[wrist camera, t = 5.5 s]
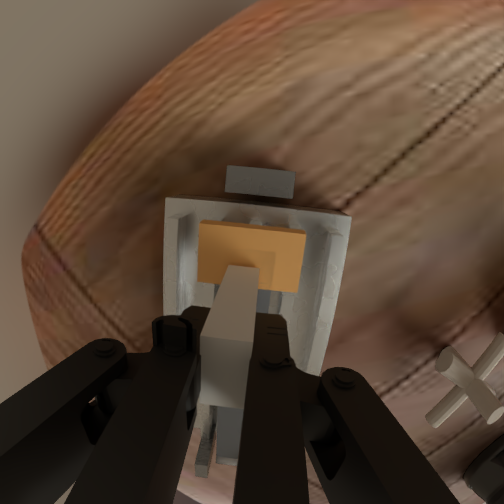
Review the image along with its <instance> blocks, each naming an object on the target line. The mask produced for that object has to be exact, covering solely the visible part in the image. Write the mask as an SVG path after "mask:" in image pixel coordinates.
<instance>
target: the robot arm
mask: <svg viewBox="0 0 504 504" xmlns="http://www.w3.org/2000/svg"><path fill="white" fill-rule="evenodd" d="M259 270H260V268H254V267H244V266H235V265H228V267H227V270H226V272H225V275H224V277H223V280H222V282H221V285H220V287H219V290H218V292H217V294H216V297H215V299H214V302H213V304H212V307H211V308H209V307H201V306H194V305H191V306H190V307H188V308H186V309H185V310H183V312H182V314H181V315H166V316H161V317H159V318H156V319H155V320H154V321H153V322H152V334H153V347H152V349H151V351H150V352H147V353H127V351H126V347H125V346H124V344H123V343H121V342H120V341H118V340H115V339H109V338H102V339H97V340H94V341H92V342H90V343H88V344H87V345H85V346H84V347H82V348H81V349H79V350H78V351H76V352H75V353H73V354H72V355H71V356H69V357H68V358H66V359H65V360H63V361H62V362H60V363H59V364H57V365H56V366H54V367H53V368H51V369H50V370H48V371H47V372H46V373H44V374H43V375H41V376H40V377H38V378H37V379H35V380H34V381H32V382H31V383H30V384H28V385H27V386H25V387H24V388H22V389H21V390H19V391H18V392H17V393H15V394H14V395H12V396H11V397H9V398H8V399H7V400H5V401H4V402H2V403H1V404H0V504H54V503H55V502H56V501H57V500H58V499H59V498H60V497H61V496H62V495H63V494H64V493H65V492H66V491H67V490H68V489H69V488H70V486H71V485H72V484H73V483H74V482H75V481H76V482H75V484H74V486H73V488H72V490H71V492H70V494H69V495H68V497H67V499H66V501H65V503H64V504H173V500H174V496H175V493H176V489H177V485H178V482H179V478H180V474H181V471H182V467H183V463H184V460H185V456H186V452H187V449H188V445H189V441H190V438H191V434H192V430H193V427H194V423H195V419H196V416H197V401H198V398H199V394H200V403H202V404H208V405H215V406H222V407H230V408H238V409H244V411H243V419H242V427H241V436H240V445H239V453H238V462H237V470H236V479H235V487H234V495H233V504H309V492H308V480H307V468H306V457H305V448H306V451H307V453H308V455H309V458H310V460H311V462H312V465H313V467H314V469H315V472H316V474H317V476H318V478H319V481H320V483H321V485H322V488H323V490H324V492H325V494H326V497H327V499H328V501H329V503H330V504H460V503H459V502H458V500H457V499H456V498H455V496H454V495H453V494H452V492H451V491H450V490H449V488H448V487H447V486H446V484H445V483H444V482H443V480H442V479H441V478H440V476H439V475H438V474H437V472H436V471H435V470H434V468H433V467H432V466H431V464H430V463H429V462H428V460H427V459H426V458H425V456H424V455H423V454H422V452H421V451H420V450H419V448H418V447H417V446H416V445H415V443H414V442H413V441H412V439H411V438H410V437H409V435H408V434H407V433H406V431H405V430H404V429H403V427H402V426H401V425H400V424H399V422H398V421H397V420H396V418H395V417H394V416H393V414H392V413H391V412H390V411H389V409H388V408H387V407H386V405H385V404H384V403H383V401H382V400H381V399H380V398H379V396H378V395H377V394H376V392H375V391H374V390H373V389H372V387H371V386H370V385H369V383H368V382H367V381H366V380H365V378H364V377H363V376H362V375H361V374H359V373H358V372H356V371H354V370H352V369H349V368H344V367H334V368H330V369H327V370H326V371H325V372H323V374H322V376H321V377H320V376H316V375H312V374H309V373H306V372H303V371H302V370H300V369H298V368H297V367H296V364H295V362H294V359H293V358H291V357H290V348H289V338H288V330H287V321H286V320H285V319H284V318H283V317H282V316H281V315H279V314H269V313H259V312H256V304H257V293H258V281H259ZM94 397H95V400H94V401H92V402H91V403H88V402H89V401H91V400H92V399H93V398H94ZM304 446H305V447H304ZM463 478H464V481H465V483H466V485H467V487H468V488H469V489H472V490H473V491H474V492H475V493H476V494H477V495H478V496H479V497H481V498H482V499H483V500H484V501H485V502H486V504H504V435H503V436H501V437H500V438H499V439H497V440H496V441H495V442H494V443H493V444H491V445H490V446H489V447H488V448H487V449H486V450H485V451H483V452H482V453H481V454H480V455H479V456H478V457H477V458H476V459H475V460H474V462H473V463H472V464H471V465H470V466H469V468H468V469H467V470H466V472H465V474H464V477H463Z"/></svg>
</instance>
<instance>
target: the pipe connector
mask: <svg viewBox="0 0 504 504" xmlns="http://www.w3.org/2000/svg"><path fill="white" fill-rule="evenodd" d="M503 356H504V335H503V334H502V333H501V332H499V333H498V335H497V336H496V337H495V339H494V340H493V341H492V343H491V344H490V345H489V346H488V348H487V349H486V350H485V352H484V353H483V354H482V355H481V357H480V358H479V359H478V360H477V361H476V363H475V364H474V365H473V366H472V367H470V366H469V365H468V364H467V363H466V361H465V360H464V359H463V358H462V357H461V356H460V355H459V354H458V353H457V351H456V350H455V349H454V348H453V347H451V346H448V347H446V348H444V349H443V350H442V352H441V353H440V356H439V357H438V359H437V361H436V365H435V367H436V371H438V372H439V373H441V374H442V375H443V376H445V377H446V378H448V379H449V380H450V381H452V382H453V383H455V384H456V385H455V386H454V387H453V389H452V390H451V391H450V392H449V393H448V394H447V395H446V396H445V397H444V398H443V399H442V400H441V401H440V402H439V403H438V404H437V405H436V406H435V407H434V408H433V409H432V410H431V411H430V412H429V413H427V414H426V416H425V417H426V420H427V421H428V423H429V424H430V425H431V426H432V427H434V428H437V427H438V426H439V425H440V424H441V423H443V422H444V421H445V420H446V419H447V418H448V417H449V416H450V415H451V414H452V413H453V412H454V411H455V410H456V409H457V408H458V407H459V406H460V405H461V404H462V403H463V402H464V401H465V400H466V399H467V398H468V397H469V398H470V400H471V401H472V402H473V404H474V405H475V407H476V408H477V409H478V411H479V412H480V413H481V415H482V416H483V418H484V419H485V420H486V422H487V423H488V424H492V423H494V422H495V421H497V420H498V419H499V418H500V417H501V415H502V414H503V412H504V406H503V405H502V404H501V403H500V401H499V400H498V399H497V398H496V392H495V390H494V389H493V388H492V387H491V386H490V385H489V384H488V383H486V382H485V381H484V379H485V378H486V377H487V375H488V374H489V373H490V372H491V371H492V369H493V368H494V367H495V366H496V365H497V363H498V362H499V361H500V359H501V358H502V357H503Z"/></svg>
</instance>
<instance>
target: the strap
mask: <svg viewBox="0 0 504 504" xmlns="http://www.w3.org/2000/svg"><path fill="white" fill-rule="evenodd" d="M305 241H306V232H305V230H299V229H291V228H282V227H273V226H263V225H254V224H244V223H234V222H224V221H214V220H204V219H203V220H202V221H201V222H200V223H199V240H198V271H197V282H204V283H212V284H220V285H221V282H222V280H223V277H224V275H225V272H226V270H227V267H228V265H235V266H244V267H254V268H260V270H259V281H258V293H257V304H256V312H259V313H268V310H269V303H270V295H271V290H274V291H283V292H293V293H297V291H298V286H299V280H300V274H301V267H302V261H303V255H304V248H305ZM243 411H244V409H238V408H230V407H222V406H218V407H217V452H216V463H218V464H225V465H233V466H237V462H238V453H239V445H240V436H241V427H242V419H243Z"/></svg>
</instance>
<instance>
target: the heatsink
mask: <svg viewBox="0 0 504 504" xmlns="http://www.w3.org/2000/svg"><path fill="white" fill-rule="evenodd" d="M295 173H296V172H292V171H284V170H275V169H265V168H255V167H244V166H232V165H227V172H226V183H225V192H231V193H242V194H252V195H262V196H272V197H281V198H289V199H293V191H294V182H295ZM203 219H204V220H214V221H224V222H234V223H244V224H254V225H263V226H273V227H282V228H291V229H299V230H305V232H306V241H305V248H304V255H303V261H302V267H301V274H300V280H299V286H298V291H297V293H293V292H283V291H274V290H271V295H270V303H269V310H268V313H269V314H279V315H281V316H282V317H283V318H284V319H285V320H286V321H287V330H288V338H289V348H290V357H291V358H293V359H294V362H295V364H296V367H297V368H298V369H300V370H302V371H303V372H306V373H309V374H312V375H316V376H319V375H320V371H321V367H322V363H323V359H324V356H325V352H326V347H327V343H328V339H329V335H330V331H331V326H332V322H333V318H334V313H335V308H336V304H337V299H338V294H339V289H340V284H341V279H342V273H343V268H344V262H345V257H346V251H347V245H348V239H349V232H350V226H351V219H352V217H351V216H349V215H347V214H345V213H343V212H341V211H335V210H327V209H320V208H312V207H304V206H295V205H287V204H278V203H269V202H259V201H250V200H239V199H228V198H217V197H205V196H192V195H175V196H170V197H166V200H165V220H164V250H163V313H164V316H166V315H181V314H182V312H183V310H185V309H186V308H188V307H190V306H191V305H194V306H201V307H209V308H211V307H212V304H213V302H214V299H215V297H216V294H217V292H218V290H219V287H220V284H212V283H204V282H197V271H198V240H199V223H200V222H201V221H202V220H203ZM217 407H218V406H215V405H208V404H202V403H200V394H199V398H198V401H197V416H196V419H195V423H194V428H200V429H201V442H200V445H199V449H198V453H197V457H196V461H195V476H198V477H204V478H208V473H209V468H210V464H211V459H212V454H213V450H214V445H215V440H216V431H217Z"/></svg>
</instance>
